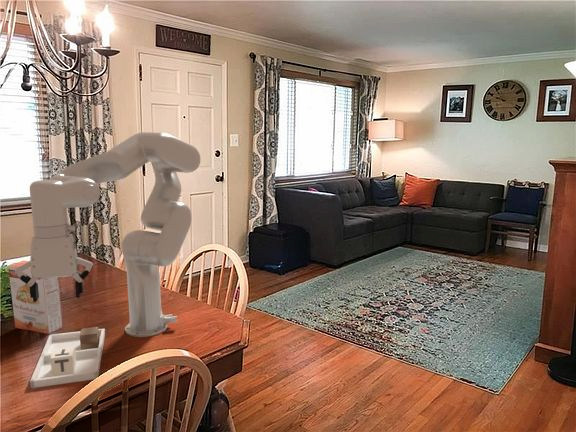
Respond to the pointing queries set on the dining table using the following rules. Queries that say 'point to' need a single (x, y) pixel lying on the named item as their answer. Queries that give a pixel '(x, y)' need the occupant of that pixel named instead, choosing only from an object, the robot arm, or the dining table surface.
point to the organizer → (85, 360)
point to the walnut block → (89, 338)
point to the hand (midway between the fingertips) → (57, 298)
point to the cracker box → (35, 303)
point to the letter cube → (63, 361)
